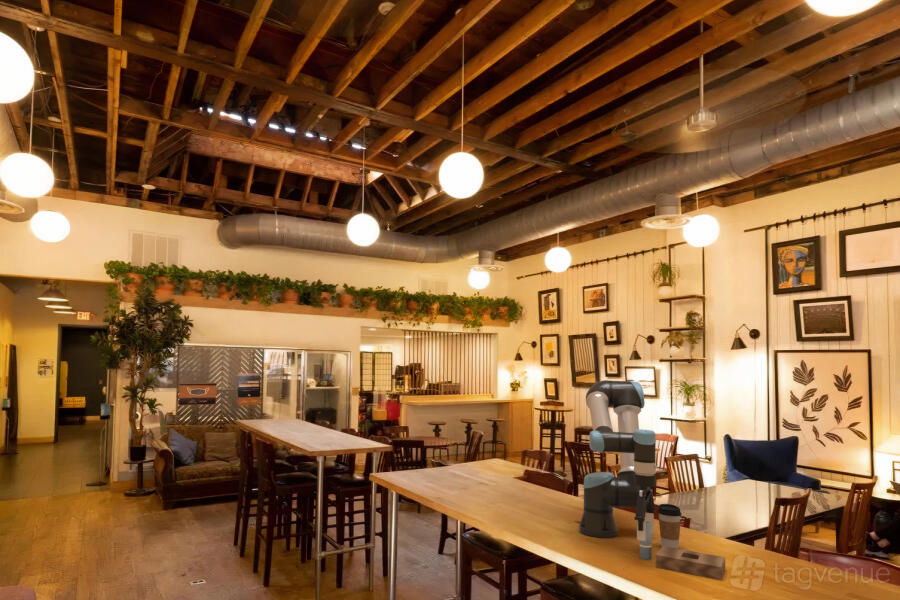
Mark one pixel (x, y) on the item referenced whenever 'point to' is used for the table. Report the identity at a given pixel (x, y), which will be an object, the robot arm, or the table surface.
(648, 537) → the peg
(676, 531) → the coffee cup
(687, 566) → the board
